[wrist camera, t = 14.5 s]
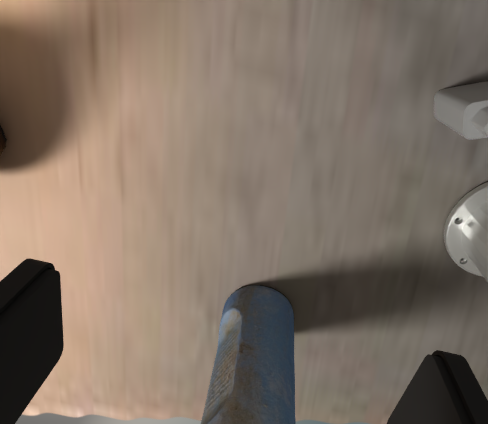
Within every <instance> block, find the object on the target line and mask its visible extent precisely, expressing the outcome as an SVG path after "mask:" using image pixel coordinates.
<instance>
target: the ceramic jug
mask: <svg viewBox="0 0 488 424" xmlns="http://www.w3.org/2000/svg"><path fill="white" fill-rule="evenodd" d="M6 141H7V139H6V137H5V135H4V132H3V130H2V128H1V125H0V156H1V154H2V152H3V150H4V149H5V147H6Z"/></svg>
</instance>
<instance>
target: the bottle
mask: <svg viewBox="0 0 488 424" xmlns="http://www.w3.org/2000/svg"><path fill="white" fill-rule="evenodd" d="M201 424H295V375H294V313H293V309H292V306H291V304H290V302H289V301H288V300H287V298H286V297H285V296H284V295H282V294H281V293H279V292H278V291H276V290H274V289H272V288H268V287H265V286H247V287H243V288H240V289H239V290H237V291H235V292H234V293H232V294H231V296H230V297H229V298H228V299H227V301H226V303H225V306H224V309H223V313H222V318H221V323H220V328H219V341H218V349H217V354H216V359H215V363H214V367H213V372H212V376H211V381H210V385H209V390H208V395H207V399H206V404H205V408H204V413H203V417H202V421H201Z"/></svg>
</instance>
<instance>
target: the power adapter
mask: <svg viewBox="0 0 488 424" xmlns="http://www.w3.org/2000/svg"><path fill="white" fill-rule="evenodd" d="M434 117H435V118H436V119H437V120H438V121H440V122H441V123H443V124H445V125H446V126H448V127H449V128H451V129H452V130H454V131H455V132H457V133H458V134H460V135H462V136H463V137H465V138H466V139H470V140H472V139H479V138H486V137H488V81H487V82H480V83H474V84H469V85H463V86H457V87H452V88H446V89H442V90H439V91H438V92H437V93H436V94H435V97H434Z"/></svg>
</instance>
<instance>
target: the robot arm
mask: <svg viewBox="0 0 488 424" xmlns="http://www.w3.org/2000/svg"><path fill="white" fill-rule="evenodd" d="M443 237H444V244H445V247H446V249H447V252H448V254H449V255H450V256H451V258H452V260H453V261H454V262H455V263H456V264H457V265H458V266H459V267H461V268H462V269H464V270H465V271H467V272H469V273H472V274H474V275H478V276H482V277H484V278H485V279H486V280H487V282H488V182H486V183H484V184H482V185H480V186H478V187H476V188H475V189H473V190H472V191H470V192H468V193H467V194H466V195H465V196H464V197H463V198H462V199H460V200H459V202H458V203H457V204H456V205H455V206H454V208H453V209H452V211H451V212H450V214H449V216H448V218H447V220H446V223H445V227H444V235H443ZM62 351H63V325H62V305H61V285H60V273H59V271H56V270H55V268H54V265H53V264H51V263H47V262H43V261H38V260H34V259H26V260H24V261H23V262H22V263H21V264H20V265H18V266H17V267H16V268H15V269H14V270H13V271H12V272H10V273H9V274H8V275H7V276H6V277H5V278H4V279H3V280H1V281H0V424H15V423H16V421H17V420H18V418H19V417H20V416H21V414H22V413H23V411H24V410H25V408H26V407H27V405H28V404H29V403H30V401H31V400H32V398H33V397H34V395H35V394H36V392H37V391H38V389H39V388H40V387H41V385H42V384H43V382H44V381H45V379H46V378H47V376H48V375H49V374H50V372H51V371H52V369H53V368H54V366H55V365H56V363H57V362H58V360H59V359H60V357H61V354H62ZM387 424H488V400H487V399H486V397H485V395H484V393H483V391H482V389H481V387H480V385H479V383H478V381H477V379H476V378H475V376H474V374H473V372H472V370H471V368H470V366H469V364H468V362H467V361H466V359H465V358H464V357H463V356H461V355H457V354H452V353H448V352H444V351H438V350H437V351H435V352H434V353H433V354H432V355H427V356H426V357H425V358H424V360H423V362H422V363H421V365H420V367H419V368H418V370H417V372H416V374H415V375H414V377H413V379H412V380H411V382H410V384H409V385H408V387H407V389H406V390H405V392H404V394H403V396H402V397H401V399H400V401H399V402H398V404H397V406H396V407H395V409H394V411H393V413H392V414H391V416H390V418H389V419H388V422H387Z"/></svg>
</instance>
